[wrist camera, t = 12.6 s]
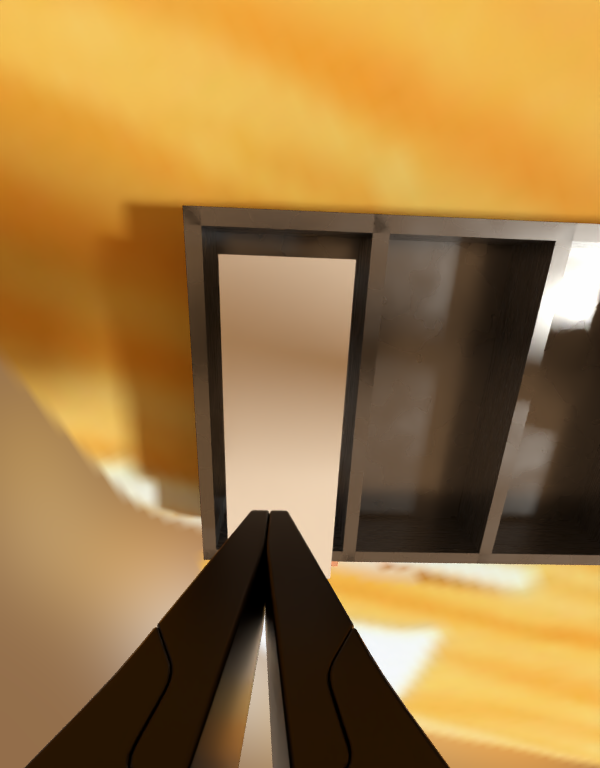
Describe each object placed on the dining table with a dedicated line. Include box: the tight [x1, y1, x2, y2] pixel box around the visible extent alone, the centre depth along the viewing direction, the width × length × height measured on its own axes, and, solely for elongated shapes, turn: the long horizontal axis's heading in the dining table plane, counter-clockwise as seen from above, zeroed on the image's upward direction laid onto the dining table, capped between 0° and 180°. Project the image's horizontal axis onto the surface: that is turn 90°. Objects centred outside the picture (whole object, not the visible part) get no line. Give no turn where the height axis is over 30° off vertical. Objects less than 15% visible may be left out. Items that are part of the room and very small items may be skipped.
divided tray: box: [183, 206, 600, 566], centre depth 16 cm, size 20×16×3 cm
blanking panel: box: [218, 254, 356, 579], centre depth 14 cm, size 4×12×5 cm, turn 178°
